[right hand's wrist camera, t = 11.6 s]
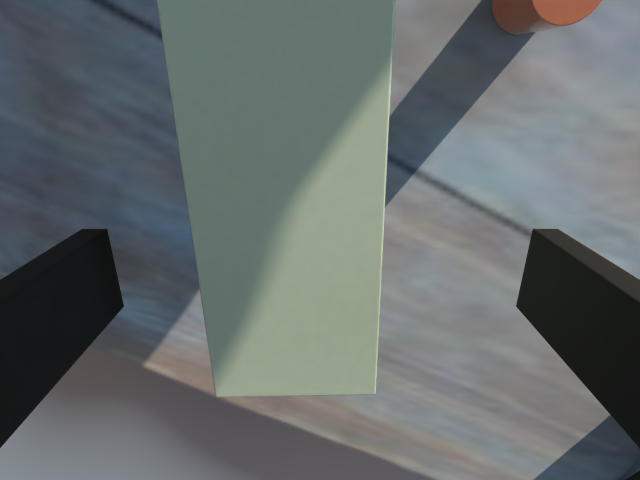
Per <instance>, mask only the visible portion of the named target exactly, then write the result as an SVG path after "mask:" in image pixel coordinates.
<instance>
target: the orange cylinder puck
mask: <svg viewBox="0 0 640 480" xmlns="http://www.w3.org/2000/svg"><path fill="white" fill-rule="evenodd" d="M600 2H601V0H492V13H493V17H494V19H495V21H496V23H497V24H498V26H499V27H500V28H501V29H502V30H504V31H505V32H507V33H510V34H514V35H523V34H528V33H533V32H537V31H542V30H547V29H552V28H557V27H561V26H566V25H571V24H574V23H576V22H578V21H580V20H582V19H584V18H585V17H587V16H588V15H589V14H590V13H591V12H592V11H593V10H594V9H595V8H596V7H597V6H598V5H599V3H600Z"/></svg>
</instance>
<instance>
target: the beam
mask: <svg viewBox="0 0 640 480" xmlns="http://www.w3.org/2000/svg"><path fill="white" fill-rule="evenodd" d="M157 6H158V13H159V19H160V26H161V33H162V39H163V46H164V53H165V60H166V66H167V73H168V80H169V86H170V93H171V100H172V106H173V113H174V120H175V126H176V133H177V140H178V147H179V153H180V160H181V167H182V173H183V180H184V187H185V193H186V200H187V207H188V214H189V220H190V227H191V234H192V240H193V247H194V254H195V260H196V267H197V274H198V280H199V287H200V294H201V301H202V307H203V314H204V321H205V327H206V334H207V341H208V347H209V354H210V361H211V367H212V374H213V381H214V388H215V394H216V397H252V396H314V395H374V394H375V393H376V373H377V353H378V333H379V313H380V293H381V272H382V252H383V232H384V212H385V192H386V172H387V151H388V131H389V111H390V91H391V71H392V50H393V30H394V10H395V0H157Z"/></svg>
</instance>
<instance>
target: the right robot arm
mask: <svg viewBox="0 0 640 480" xmlns="http://www.w3.org/2000/svg"><path fill="white" fill-rule="evenodd" d="M123 307H124V305H123V300H122V296H121V291H120V286H119V282H118V277H117V273H116V268H115V263H114V259H113V254H112V249H111V245H110V240H109V235H108V231H107V229H82V230H80V231H78V232H77V233H75V234H73V235H72V236H70V237H69V238H67V239H65V240H64V241H62V242H61V243H59V244H57V245H56V246H54V247H52V248H51V249H49V250H48V251H46V252H44V253H43V254H41V255H40V256H38V257H36V258H35V259H33V260H32V261H30V262H28V263H27V264H25V265H23V266H22V267H20V268H19V269H17V270H15V271H14V272H12V273H11V274H9V275H7V276H6V277H4V278H3V279H1V280H0V448H1V446H2V445H3V444H4V443H5V442H6V441H7V440H8V438H9V437H10V436H11V435H12V434H13V433H14V431H15V430H16V429H17V428H18V427H19V426H20V425H21V424H22V422H23V421H24V420H25V419H26V418H27V417H28V415H29V414H30V413H31V412H32V411H33V410H34V409H35V407H36V406H37V405H38V404H39V403H40V402H41V401H42V399H43V398H44V397H45V396H46V395H47V394H48V393H49V391H50V390H51V389H52V388H53V387H54V386H55V384H56V383H57V382H58V381H59V380H60V379H61V378H62V377H63V375H64V374H65V373H66V372H67V371H68V370H69V369H70V367H71V366H72V365H73V364H74V363H75V362H76V360H77V359H78V358H79V357H80V356H81V355H82V354H83V353H84V351H85V350H86V349H87V348H88V347H89V346H90V344H91V343H92V342H93V341H94V340H95V339H96V338H97V336H98V335H99V334H100V333H101V332H102V331H103V330H104V328H105V327H106V326H107V325H108V324H109V323H110V322H111V320H112V319H113V318H114V317H115V316H116V315H117V314H118V312H119V311H120V310H121V309H122V308H123ZM516 307H517V308H518V309H519V310H520V311H521V312H522V314H523V315H524V316H525V317H526V318H527V319H528V320H529V322H530V323H531V324H532V325H533V326H534V327H535V328H536V330H537V331H538V332H539V333H540V334H541V335H542V336H543V338H544V339H545V340H546V341H547V342H548V343H549V344H550V346H551V347H552V348H553V349H554V350H555V351H556V353H557V354H558V355H559V356H560V357H561V358H562V359H563V361H564V362H565V363H566V364H567V365H568V366H569V367H570V369H571V370H572V371H573V372H574V373H575V374H576V375H577V377H578V378H579V379H580V380H581V381H582V382H583V383H584V385H585V386H586V387H587V388H588V389H589V390H590V391H591V393H592V394H593V395H594V396H595V397H596V398H597V399H598V401H599V402H600V403H601V404H602V405H603V406H604V408H605V409H606V410H607V411H608V412H609V413H610V414H611V416H612V417H613V418H614V419H615V420H616V421H617V422H618V424H619V425H620V426H621V427H622V428H623V429H624V430H625V432H626V433H627V434H628V435H629V436H630V437H631V438H632V440H633V441H634V442H635V443H636V444H637V445H638V446H639V448H640V280H639V279H637V278H636V277H634V276H633V275H631V274H629V273H628V272H626V271H625V270H623V269H621V268H620V267H618V266H617V265H615V264H613V263H612V262H610V261H608V260H607V259H605V258H604V257H602V256H600V255H599V254H597V253H596V252H594V251H592V250H591V249H589V248H587V247H586V246H584V245H583V244H581V243H579V242H578V241H576V240H575V239H573V238H571V237H570V236H568V235H567V234H565V233H563V232H562V231H560V230H558V229H533V231H532V235H531V240H530V245H529V249H528V254H527V259H526V263H525V268H524V272H523V277H522V282H521V286H520V291H519V296H518V300H517V305H516ZM626 480H640V471H639V472H637V473H636V474H634V475H632V476H631V477H629V478H628V479H626Z"/></svg>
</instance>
